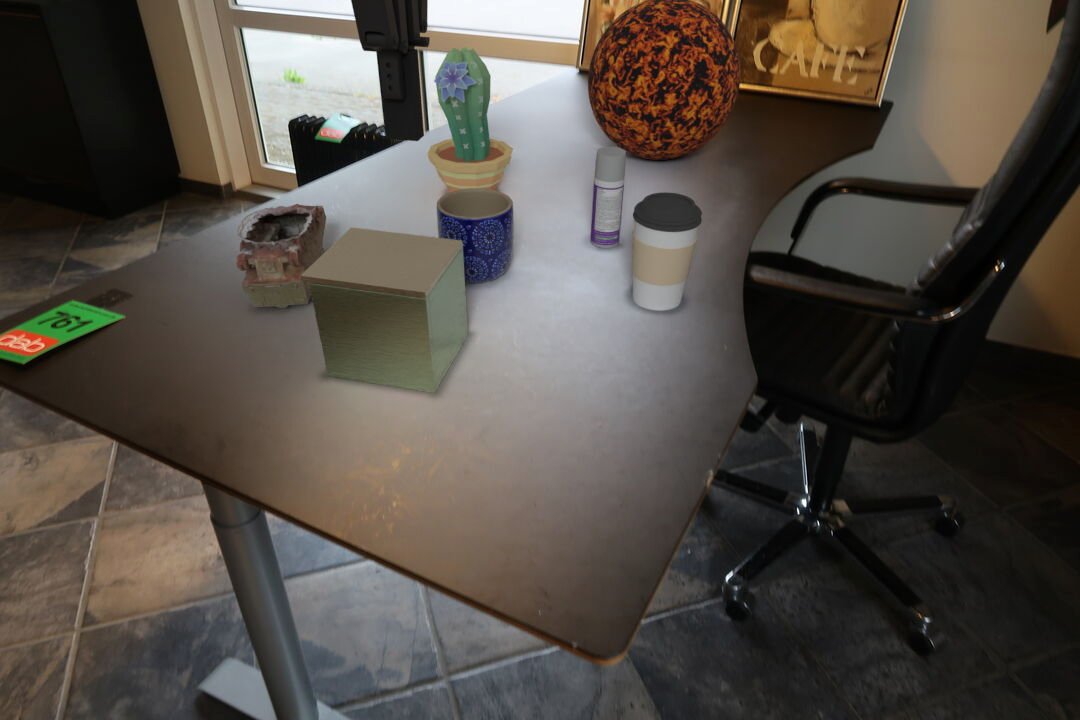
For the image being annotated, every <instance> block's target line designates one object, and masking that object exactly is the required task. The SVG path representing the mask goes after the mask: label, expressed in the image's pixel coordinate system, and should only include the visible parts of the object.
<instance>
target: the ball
mask: <svg viewBox="0 0 1080 720" xmlns="http://www.w3.org/2000/svg"><path fill="white" fill-rule="evenodd" d="M741 74H742V73H741V61H740V55H739V51H738V48H737V45H736V42H735V40H734V37H733V36H732V33H731V32H730V30H729V29H728V27H727V25H726V24H725V23H724V22H723V20H722V19H721V18H720V17H719V16H718V15H716V14H715V13H714V12H713V11H712V10H710V9H709V8H708V7H707V6H704V5H703V4H701V3H699V2H696V1H693V0H644V1H641V2H639V3H637V4H635V5H633V6H631V7H630V8H628V9H626V10H625V11H624V12H622V13H621V14H619V15H618V16H617V17H616V18H615V19H614V20H613V21H612V22H611V23H610V24H609V25H608V26H607V28H606V29H605V31H604V32H603V34H602V35H601V37H600V38H599V40H598V42H597V44H596V46H595V48H594V50H593V54H592V56H591V59H590V63H589V68H588V74H587V92H588V94H587V95H588V99H589V105H590V109H591V112H592V114H593V116H594V118H595V121H596V122H597V124H598V126H599V127H600V129H601V130H602V133H604V135H605V136H606V137H607V138H608V139H609V140H610V141H611V142H612V143H613V144H615V145H616V147H618V148H621V149H623V150H625V151H626V153H628V154H631V155H633V156H635V157H638V158H642V159H647V160H654V161H655V160H656V161H663V160H665V161H666V160H672V159H676V158H681V157H683V156H686V155H688V154H691V153H693V152H695V151H697V150H699V149H700V148H702V147H704V145H706V144H707V143H709V142H710V141H711V140H712V139H713V138H714V137H715V136H716V135H717V134H718V133H719V132H720V131H721V129H722V128H723V127H724V125H725V124H726V122H727V121H728V119H729V118H730V116H731V114H732V113H733V110H734V107H735V105H736V102H737V100H738V96H739V92H740V85H741Z"/></svg>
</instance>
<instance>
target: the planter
mask: <svg viewBox="0 0 1080 720" xmlns="http://www.w3.org/2000/svg"><path fill="white" fill-rule="evenodd" d="M436 225H437V233H438V234H437V235H438V238H444V239H453V240H461V241H463V259H464V277H465V283H472V284H479V283H487V282H491V281H494V280H496V279H498V278H499V277H501V276H502V275H503V274H504V273H505V272H506V271H507V270H508V268H509V266H510V265H511V262H512V258H513V252H514V251H513V250H514V230H515V229H514V202H513V199H512V198H511V197H510V196H509V195H507V194H506V193H504V192H502V191H499V190H497V189H496V190H491V189H483V188H470V189H461V190H456V191H453V192H450V193H448V192H447V193H446V194H444V195H442V196H441V197H440V198H439V199H438V200H436Z"/></svg>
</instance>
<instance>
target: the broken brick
mask: <svg viewBox="0 0 1080 720" xmlns="http://www.w3.org/2000/svg"><path fill="white" fill-rule="evenodd" d="M326 223H327V214H326V212H325V208H324V206H323V205H304V204H298V203H296V204H293V205H290V206H289V205H288V206H285V205H279V206H276V207H273V206H271V207H265V208H261V209H259V210H255V211H253V212H251V213H249V214H248V215H247V216H245V218H243V220H242V221H241V223H240V224H239V225H238V228H237V231H236V236H238V237H239V238H240V239H241V242H240V243H239V253H237V255H236V259H235V260H236V262H235V263H236V264H235V265H236V267H237V269H238V271H241V272H244V271H245V273H244V274H245V275H244V279H243V280H242V283H241V287H242V289H243V292H244V293H245V295H247V297H248V299H249V300H250V302H251V304H252V305H253V307H255V308H267V307H268V308H270V307H276V308H278V309H286V308H288V306H298V305H299V306H300V305H308V304H309V302H310V299H311V297H312V296H311V291H310V286H309V282H302V279H301V275H302V274H303V273H304V272H305V271H306V270H307V269H308V268H309V267H310V266H311V265H312V264H313V263H314V262H315V261H316V260H317V259H318V258H320V257H321V256H322V255H323V254H324V253H325V252H324V243H323V241H324V234H325V228H326Z"/></svg>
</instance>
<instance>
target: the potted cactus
mask: <svg viewBox="0 0 1080 720" xmlns="http://www.w3.org/2000/svg"><path fill="white" fill-rule="evenodd" d="M434 78H435V79H433V82H434V83H435V85H436V86H435V87H436V95H437V100H438V104H439V106H440V108H441V110H442V112H443V114H444V116H445V118H446V120H447V123H448V126H449V130H450V131H449V132H450V134H451V138H449V139H444V140H441V141H439V142H437V143H434V144H433V145H431V146H430V147H429V149H428V151H427V153H426V154H427V157H428V161H429V163H431V164H432V165H433V167H434V168H435V170H436V172H437V175H438V177H439V178H440V180H441V181H442V182H443V183H444V185H445V186H446V187H447V189H448V191H447V193H450V192H453V191H456V190H461V189H470V188H483V189H491V190H496V191H497V186H498V185H499V184H500V182H501V181H502V179H503V176H504V173H505V170H506V167H507V166H508V165H510V163H511V158H512V154H513V150H514V148H513V147H512V146H511V145H510V144H507V143H506V142H505V141H503V140H498V139H494V138H490V129H489V121H488V111H489V106H490V102H491V80H492V79H491V74H490V71H489V69H488V67H487V65H486V64H485V62H484V61H483V59H482V58H481V57H480V55H478V52H476V50H475V49H474V48H471V49H469V48H468V47H467V46H464V47H462V48H461V50H460V49H459V48H455V47H452V49H451V50H448V52H447V53H446V54H445V57H444V59H443V61H442V62H441V64H440V66H439V68H438V70H437V71H436V74H435V77H434Z"/></svg>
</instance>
